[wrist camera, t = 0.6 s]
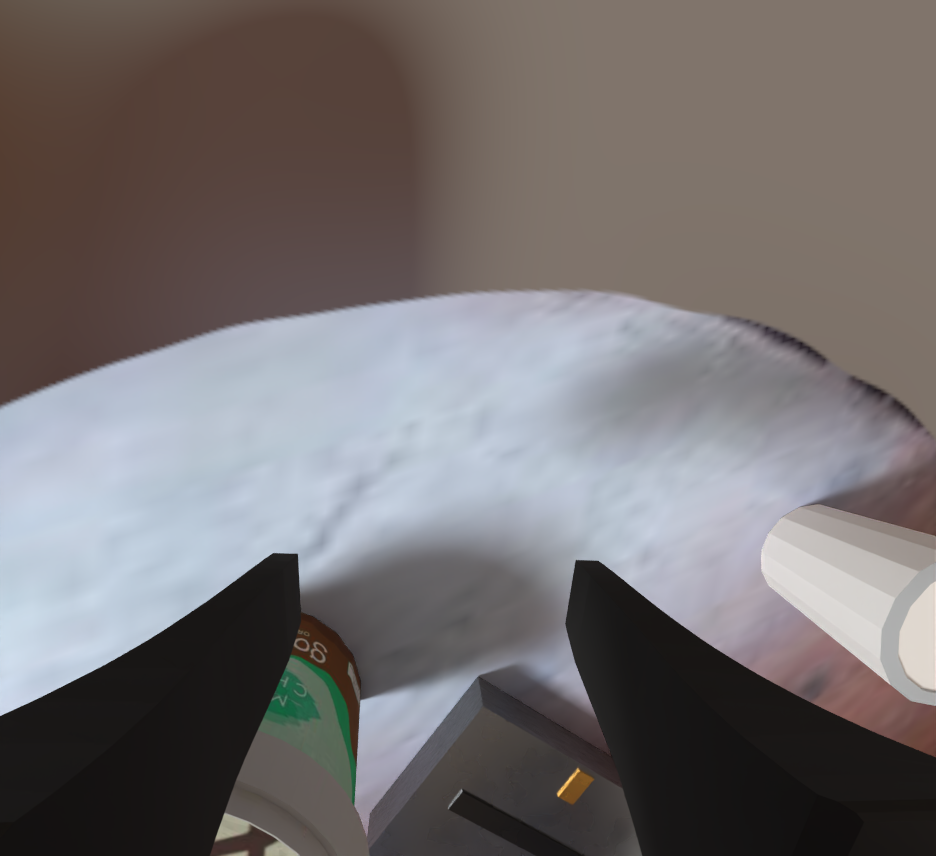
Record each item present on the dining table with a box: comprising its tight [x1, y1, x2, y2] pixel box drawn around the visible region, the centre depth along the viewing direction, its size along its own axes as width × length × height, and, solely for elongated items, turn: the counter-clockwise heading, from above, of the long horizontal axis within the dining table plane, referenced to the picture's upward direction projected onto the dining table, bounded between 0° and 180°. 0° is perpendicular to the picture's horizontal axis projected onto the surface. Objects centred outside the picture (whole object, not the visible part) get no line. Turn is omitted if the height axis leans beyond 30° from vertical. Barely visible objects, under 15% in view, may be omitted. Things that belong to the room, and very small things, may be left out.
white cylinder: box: [761, 504, 936, 706], centre depth 20 cm, size 7×7×7 cm
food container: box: [210, 613, 370, 856], centre depth 17 cm, size 12×6×10 cm, turn 81°
